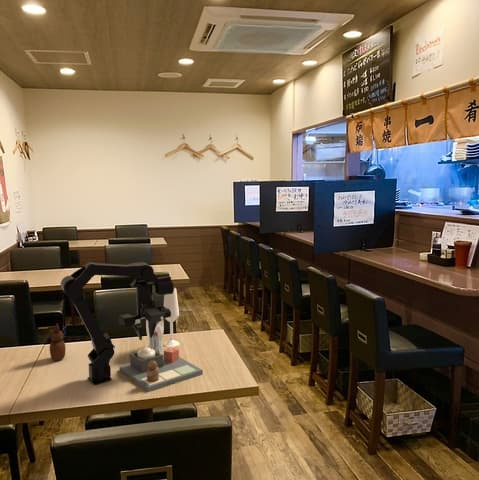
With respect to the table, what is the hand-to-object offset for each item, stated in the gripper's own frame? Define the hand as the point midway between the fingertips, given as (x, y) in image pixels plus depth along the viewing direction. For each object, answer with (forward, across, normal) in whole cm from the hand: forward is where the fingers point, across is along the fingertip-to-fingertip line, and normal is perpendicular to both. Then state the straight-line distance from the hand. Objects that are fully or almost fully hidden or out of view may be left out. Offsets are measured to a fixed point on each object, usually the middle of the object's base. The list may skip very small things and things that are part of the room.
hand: (145, 338), depth 174 cm
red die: (+10, +10, -1) cm, 15 cm away
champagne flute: (+12, +21, +17) cm, 30 cm away
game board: (+12, +3, -5) cm, 13 cm away
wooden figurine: (+12, -22, +31) cm, 40 cm away
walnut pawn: (+10, -4, -12) cm, 16 cm away
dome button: (+8, 0, 0) cm, 8 cm away
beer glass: (+12, +11, +13) cm, 21 cm away
